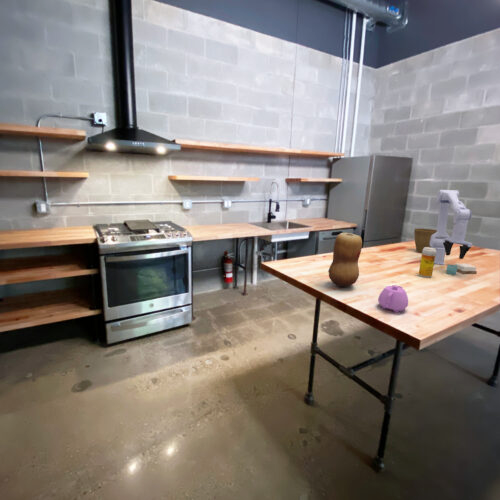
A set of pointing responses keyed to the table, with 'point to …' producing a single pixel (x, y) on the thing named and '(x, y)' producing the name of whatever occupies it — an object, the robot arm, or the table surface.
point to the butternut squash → (345, 259)
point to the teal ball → (451, 269)
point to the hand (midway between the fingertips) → (454, 257)
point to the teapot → (393, 298)
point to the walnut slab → (466, 272)
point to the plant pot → (423, 238)
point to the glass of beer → (427, 262)
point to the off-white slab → (465, 267)
